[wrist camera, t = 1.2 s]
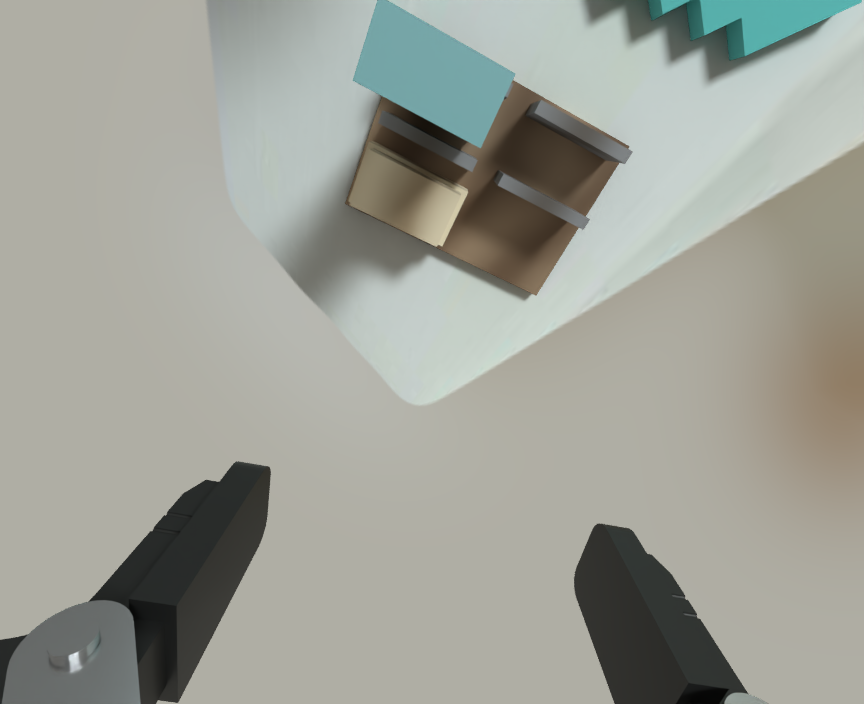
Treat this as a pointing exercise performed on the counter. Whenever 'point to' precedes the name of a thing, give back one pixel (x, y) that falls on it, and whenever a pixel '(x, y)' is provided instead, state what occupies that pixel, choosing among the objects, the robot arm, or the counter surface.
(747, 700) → the robot arm
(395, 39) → the block
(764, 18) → the alien figure
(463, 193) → the offcut lower
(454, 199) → the offcut upper
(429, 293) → the counter surface
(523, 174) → the rack
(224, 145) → the counter surface
